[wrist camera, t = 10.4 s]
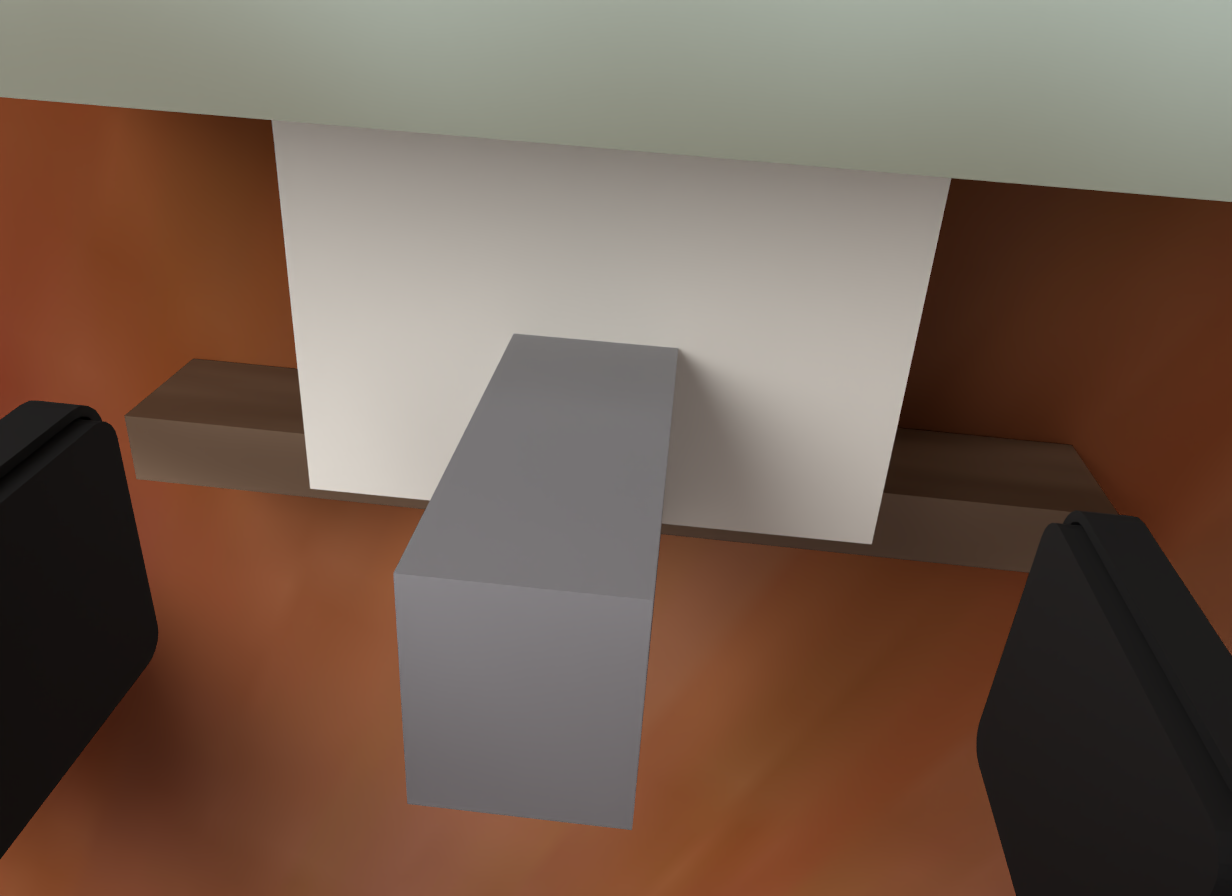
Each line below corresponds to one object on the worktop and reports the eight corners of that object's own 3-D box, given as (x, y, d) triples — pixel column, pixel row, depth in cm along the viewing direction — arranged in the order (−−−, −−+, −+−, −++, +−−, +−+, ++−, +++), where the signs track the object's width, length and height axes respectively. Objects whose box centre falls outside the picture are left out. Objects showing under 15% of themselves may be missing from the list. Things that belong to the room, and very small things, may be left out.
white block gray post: (413, 42, 19) (-35, 222, 8) (879, 77, 19) (1125, 321, 7) (424, 330, 22) (108, 768, 11) (828, 366, 22) (949, 867, 10)
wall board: (17, -120, 18) (-920, -176, 8) (1343, -23, 17) (2327, 68, 7) (120, 408, 24) (-361, 800, 13) (1142, 512, 22) (1517, 1034, 12)
